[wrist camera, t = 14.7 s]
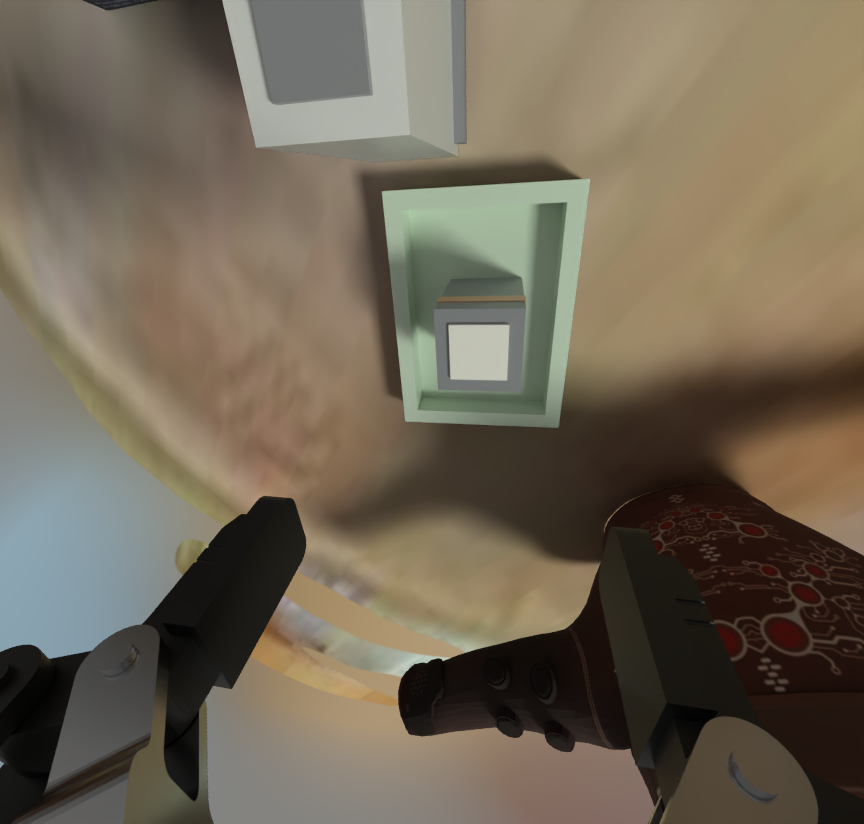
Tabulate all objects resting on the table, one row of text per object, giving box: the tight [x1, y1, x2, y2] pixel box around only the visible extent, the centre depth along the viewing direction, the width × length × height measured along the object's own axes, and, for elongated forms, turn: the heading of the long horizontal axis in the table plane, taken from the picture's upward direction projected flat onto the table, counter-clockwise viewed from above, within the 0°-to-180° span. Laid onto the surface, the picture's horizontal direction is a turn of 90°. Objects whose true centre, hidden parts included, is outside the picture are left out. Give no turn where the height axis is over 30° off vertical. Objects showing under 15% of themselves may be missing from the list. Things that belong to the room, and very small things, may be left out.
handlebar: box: [398, 483, 864, 806], centre depth 24 cm, size 45×13×20 cm, turn 117°
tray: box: [382, 179, 590, 428], centre depth 26 cm, size 11×15×3 cm
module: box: [434, 278, 526, 392], centre depth 23 cm, size 5×5×7 cm
